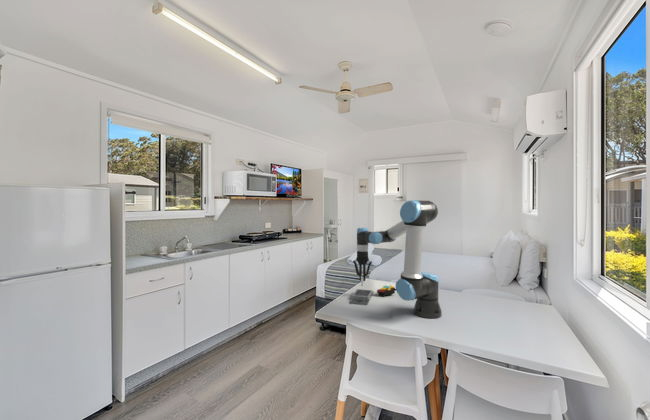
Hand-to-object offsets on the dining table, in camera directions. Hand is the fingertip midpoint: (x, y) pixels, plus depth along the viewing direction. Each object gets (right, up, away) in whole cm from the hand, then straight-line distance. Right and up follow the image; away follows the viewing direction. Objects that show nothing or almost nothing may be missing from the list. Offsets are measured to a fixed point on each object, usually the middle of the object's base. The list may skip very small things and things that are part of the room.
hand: (362, 285), depth 191 cm
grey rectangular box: (0, -8, 0) cm, 8 cm away
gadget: (+14, -9, +3) cm, 17 cm away
